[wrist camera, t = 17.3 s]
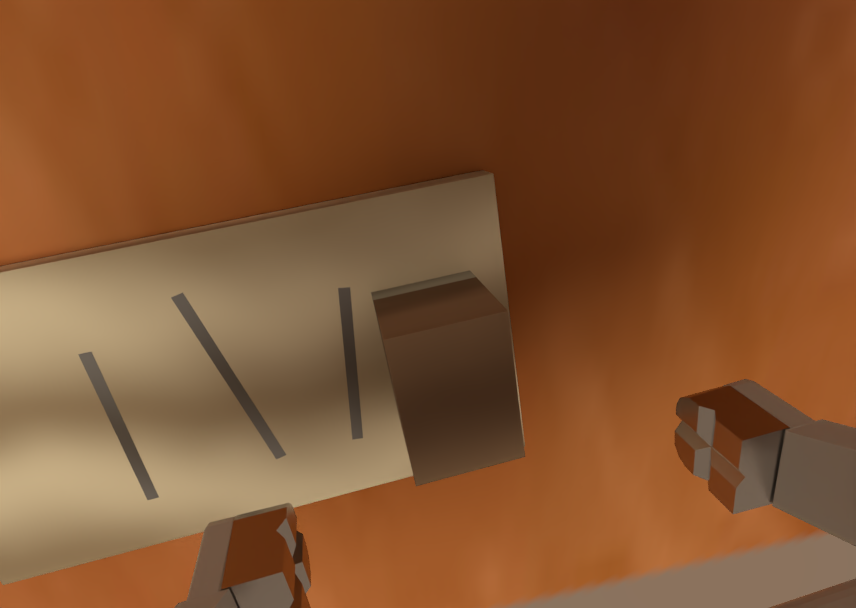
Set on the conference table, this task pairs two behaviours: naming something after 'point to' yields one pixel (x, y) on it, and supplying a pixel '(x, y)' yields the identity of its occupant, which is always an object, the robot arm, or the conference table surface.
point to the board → (215, 368)
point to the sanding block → (451, 374)
